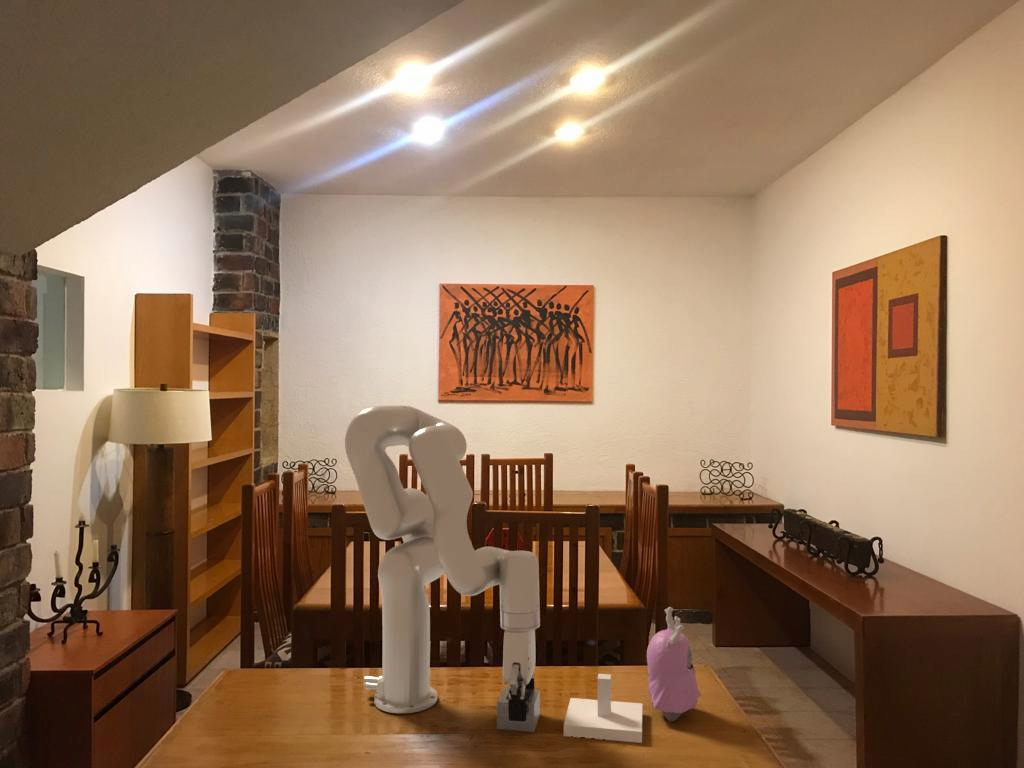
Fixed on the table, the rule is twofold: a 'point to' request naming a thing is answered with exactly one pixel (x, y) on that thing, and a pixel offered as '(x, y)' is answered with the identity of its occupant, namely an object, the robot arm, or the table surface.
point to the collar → (531, 711)
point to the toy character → (671, 671)
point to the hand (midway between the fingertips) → (522, 709)
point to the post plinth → (604, 716)
